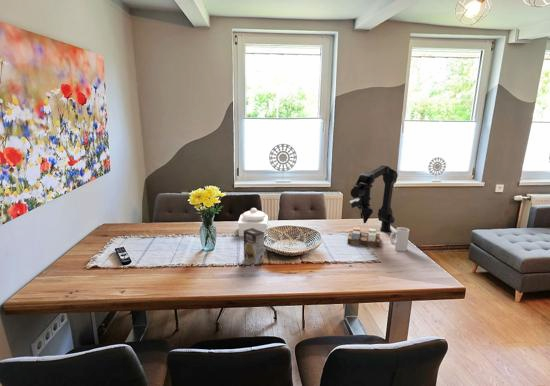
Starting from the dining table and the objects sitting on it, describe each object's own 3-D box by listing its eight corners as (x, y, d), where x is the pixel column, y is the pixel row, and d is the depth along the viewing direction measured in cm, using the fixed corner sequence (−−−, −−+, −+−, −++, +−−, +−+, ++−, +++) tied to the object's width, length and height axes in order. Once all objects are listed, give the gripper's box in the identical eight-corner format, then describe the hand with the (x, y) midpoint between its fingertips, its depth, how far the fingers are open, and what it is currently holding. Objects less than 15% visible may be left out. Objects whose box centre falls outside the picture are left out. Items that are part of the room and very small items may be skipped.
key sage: (368, 234, 201) (368, 228, 200) (375, 235, 200) (375, 229, 199) (368, 236, 198) (368, 230, 197) (375, 237, 196) (375, 231, 195)
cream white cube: (368, 238, 195) (368, 232, 194) (375, 239, 194) (375, 233, 193) (368, 241, 191) (368, 234, 190) (375, 242, 190) (375, 235, 189)
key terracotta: (353, 233, 204) (353, 226, 203) (360, 233, 203) (360, 227, 202) (352, 235, 200) (353, 229, 199) (359, 236, 199) (360, 229, 198)
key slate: (352, 237, 197) (353, 230, 196) (359, 237, 196) (359, 231, 195) (352, 239, 194) (352, 233, 193) (359, 240, 192) (359, 233, 191)
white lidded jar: (267, 237, 204) (267, 212, 200) (238, 236, 204) (237, 212, 200) (268, 227, 221) (268, 204, 217) (241, 226, 221) (240, 204, 217)
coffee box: (243, 259, 173) (242, 230, 169) (252, 255, 178) (252, 227, 174) (255, 264, 167) (255, 235, 163) (264, 260, 172) (264, 231, 168)
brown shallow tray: (349, 235, 206) (349, 230, 206) (379, 238, 201) (379, 234, 201) (347, 243, 193) (347, 239, 193) (379, 247, 188) (379, 242, 188)
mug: (404, 246, 190) (406, 227, 187) (409, 251, 183) (411, 231, 180) (387, 246, 190) (388, 226, 187) (390, 251, 183) (392, 231, 181)
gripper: (348, 191, 202) (347, 215, 206) (353, 199, 184) (351, 225, 188) (367, 191, 201) (365, 215, 205) (373, 199, 183) (371, 226, 187)
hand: (363, 220), depth 196 cm, fingers open, 9 cm apart
